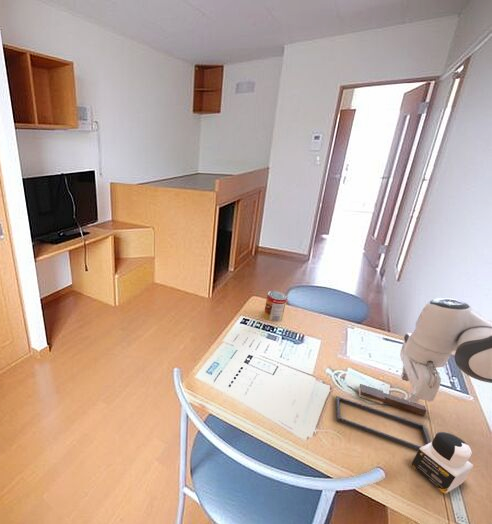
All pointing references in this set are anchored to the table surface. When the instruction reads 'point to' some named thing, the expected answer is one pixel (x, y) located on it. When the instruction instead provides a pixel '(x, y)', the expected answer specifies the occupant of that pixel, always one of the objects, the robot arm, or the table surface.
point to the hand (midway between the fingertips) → (408, 389)
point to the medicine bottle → (444, 461)
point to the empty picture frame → (384, 416)
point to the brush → (390, 400)
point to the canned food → (275, 306)
